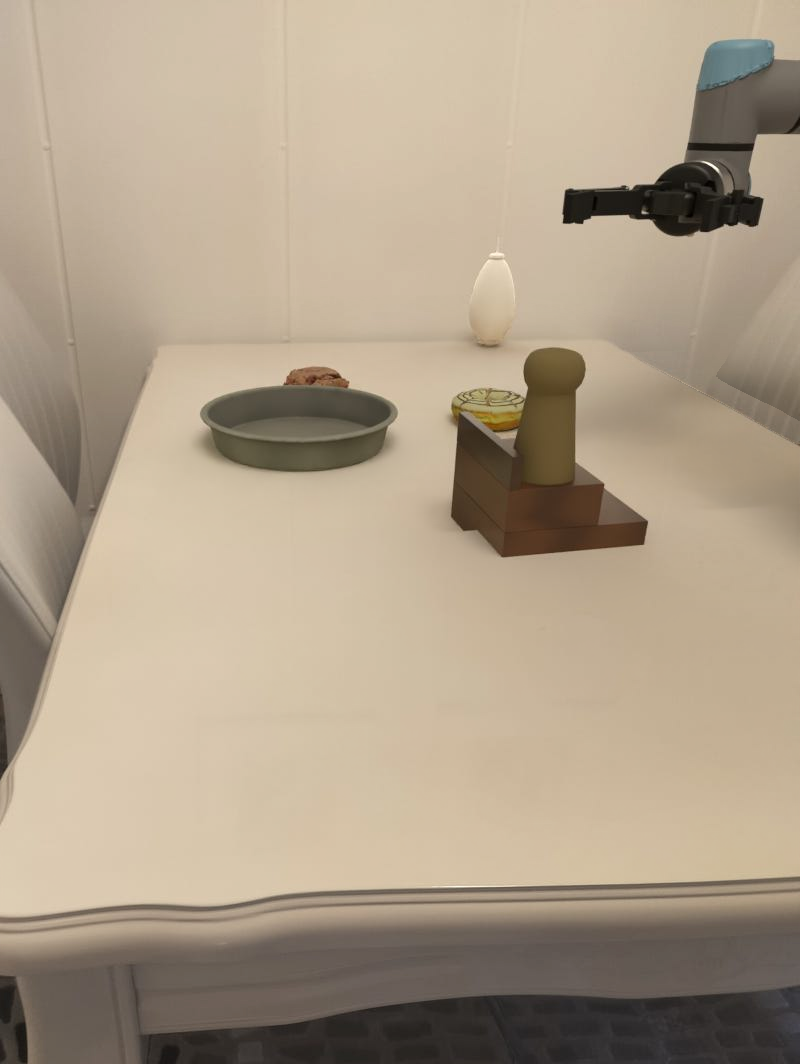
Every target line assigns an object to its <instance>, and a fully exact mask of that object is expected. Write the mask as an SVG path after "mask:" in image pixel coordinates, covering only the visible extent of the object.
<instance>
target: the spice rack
mask: <svg viewBox="0 0 800 1064" xmlns="http://www.w3.org/2000/svg"><path fill="white" fill-rule="evenodd" d="M456 431H457V432H456V433H457V434H456V445H455V459H454V472H453V483H452V484H453V485H452V495H451V496H452V497H451V508H450V509H451V510H450V517H451V518H452V520H453V521H454V522H455V523H456V524H457V525H458V527H460V529H461V530H462V531H463V532H470V531H477V532H478V533H479V534H480V535H481V537H483V538H484V540H485V541H486V542H488V544H489V546H491V547H492V548H493V549H494V551H495V552H496V553H497V554H498V555H499V556H500V557H501V558H512V557H513V558H515V557H524V556H534V555H547V554H558V553H568V552H569V553H570V552H580V551H590V550H592V551H593V550H603V549H613V548H624V547H625V548H627V547H635V546H644V545H645V540H646V535H647V531H648V527H649V520H648V519H646V517H645V518H644V516H642V515H641V514H639V512H637V511H636V510H634V509H633V508H631V507H630V506H629V505H628V504H626V503H625V502H624V501H622V500H621V499H619V498H618V497H617V496H615V494H613V493H611V492H610V491H609V490H608V489H606V488H605V486H606V485H605V482H604V481H602V480H601V479H599V478H598V477H596V476H595V475H594V474H592V473H591V472H590V471H588V470H587V469H585V468H584V467H583V466H581V465H580V464H579V463H578V462H576V461H575V478H574V479H573V480H572V481H570V482H568V483H564V484H558V485H537V484H531V483H526V482H522V481H521V477H522V468H523V459H524V457H523V456H522V455H521V454H520V453H519V452H517V451H516V450H515V449H514V448H513V446H514V442H515V438H516V437H513V438H512V437H511V438H502V437H500V436H499V435H498V434H497V433H495V432H494V431H492V430H490V429H489V428H488V427H487V426H485V425H484V424H483V423H482V422H481V421H479V420H478V419H477V418H476V417H474V416H473V415H472V414H471V413H470V412H459V418H458V421H457V430H456Z"/></svg>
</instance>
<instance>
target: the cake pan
mask: <svg viewBox="0 0 800 1064" xmlns="http://www.w3.org/2000/svg"><path fill="white" fill-rule="evenodd" d="M398 414H399V411H398V408H397V406H396V405H395V404H394V403H393V402H392V401H390V400H389V399H387V398H385V397H383V396H380V395H378V394H375V393H371V392H369V391H365V390H361V389H355V388H349V387H348V388H343V387H334V386H320V385H283V384H282V385H271V386H262V387H261V386H260V387H254V388H247V389H242V390H237V391H233V392H230V393H226V394H223V395H221V396H218V397H215V398H213V399H212V400H210V401H208V402H207V403H205V404H204V405H203V406H202V407H201V409H200V412H199V416H200V417H199V418H200V419H201V420H202V422H203V423H204V424H205V425H206V426H208V427H209V428H210V432H211V434H212V435H211V436H212V438H213V441H214V444H215V448H216V450H217V451H218V452H219V453H220V454H221V455H222V456H223V457H225V458H227V459H229V460H231V461H233V462H236V463H239V464H242V465H246V466H249V467H256V468H260V469H267V470H277V471H303V472H304V471H320V470H321V471H322V470H331V469H337V468H342V467H348V466H351V465H355V464H358V463H361V462H364V461H366V460H368V459H371V458H373V457H374V456H376V455H377V454H378V453H380V451H381V450H382V448H383V446H384V444H385V438H386V435H387V431H388V428H389V426H390V425H392V424H393V423H394V422H395V421H396V419H397V418H398Z"/></svg>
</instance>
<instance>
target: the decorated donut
mask: <svg viewBox="0 0 800 1064" xmlns="http://www.w3.org/2000/svg"><path fill="white" fill-rule="evenodd" d="M525 398H526V397H525V396H523V395H521V394H519V393H518V392H515V391H511V390H504V389H499V388H493V387H480V388H474V389H470V390H467V391H466V390H465V391H461V392H459V393H457V394H456V395H455V396H453V397H452V400H451V406H450V410H451V412H452V415H453V418H454V420H455V421H457V422H458V418H459V412H470V413H471V414H472V415H473V416H474V417H476V418H477V419H478V420H479V421H481V422H482V423H483V424H484V425H485V426H487V427H488V428H489V429H490V430H492V431H493V432H494V431H499V432H500V431H510V430H512V429H513V428H514V429H515V428H518V426H519V422H520V418H521V414H522V410H523V406H524V402H525Z"/></svg>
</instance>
